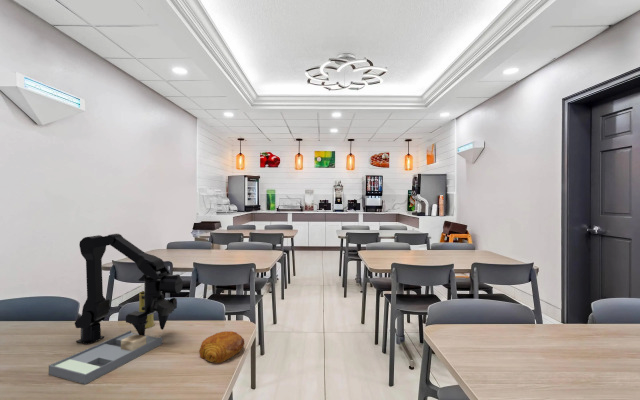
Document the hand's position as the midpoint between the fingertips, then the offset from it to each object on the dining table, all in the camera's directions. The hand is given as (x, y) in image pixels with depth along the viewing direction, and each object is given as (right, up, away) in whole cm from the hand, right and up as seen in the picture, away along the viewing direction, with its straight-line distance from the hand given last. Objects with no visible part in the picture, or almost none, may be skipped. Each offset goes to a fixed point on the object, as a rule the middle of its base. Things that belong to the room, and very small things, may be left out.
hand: (152, 333), depth 122 cm
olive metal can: (-11, -3, +16) cm, 20 cm away
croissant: (+28, -4, -8) cm, 30 cm away
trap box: (-8, -3, -12) cm, 15 cm away
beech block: (-3, -1, -8) cm, 8 cm away
